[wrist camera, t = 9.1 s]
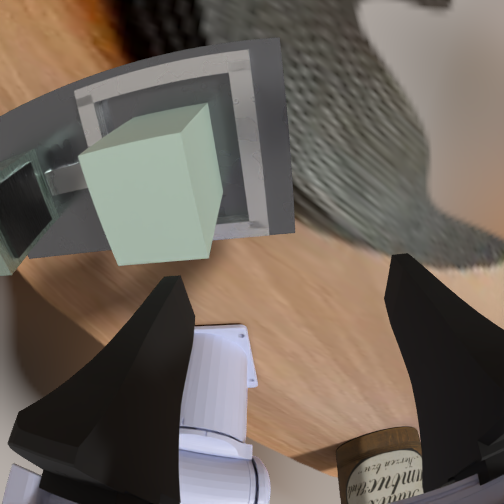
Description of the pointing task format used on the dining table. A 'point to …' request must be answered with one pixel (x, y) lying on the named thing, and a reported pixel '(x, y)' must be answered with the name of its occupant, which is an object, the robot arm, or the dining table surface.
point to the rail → (137, 104)
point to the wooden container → (380, 467)
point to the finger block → (157, 186)
